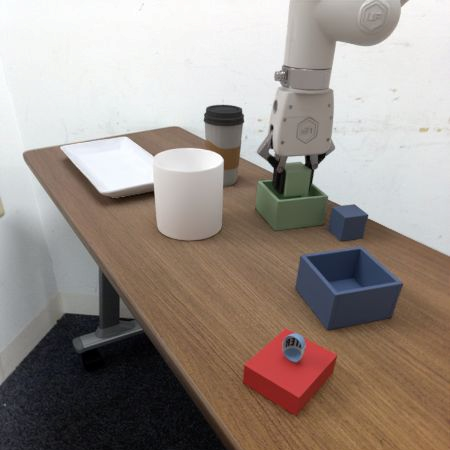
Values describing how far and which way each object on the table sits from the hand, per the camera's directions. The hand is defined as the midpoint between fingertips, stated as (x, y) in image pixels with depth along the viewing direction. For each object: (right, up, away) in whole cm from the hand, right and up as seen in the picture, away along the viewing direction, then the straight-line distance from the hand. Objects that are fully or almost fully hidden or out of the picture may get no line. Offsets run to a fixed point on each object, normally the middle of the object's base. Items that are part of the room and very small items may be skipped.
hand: (291, 189), depth 78 cm
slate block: (+9, -8, -2) cm, 13 cm away
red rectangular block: (-5, -29, -30) cm, 42 cm away
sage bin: (0, -4, +3) cm, 5 cm away
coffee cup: (-13, +6, +17) cm, 22 cm away
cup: (-19, -7, -1) cm, 20 cm away
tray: (-36, +8, +18) cm, 41 cm away
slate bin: (+4, -21, -18) cm, 28 cm away
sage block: (0, 0, 0) cm, 0 cm away
